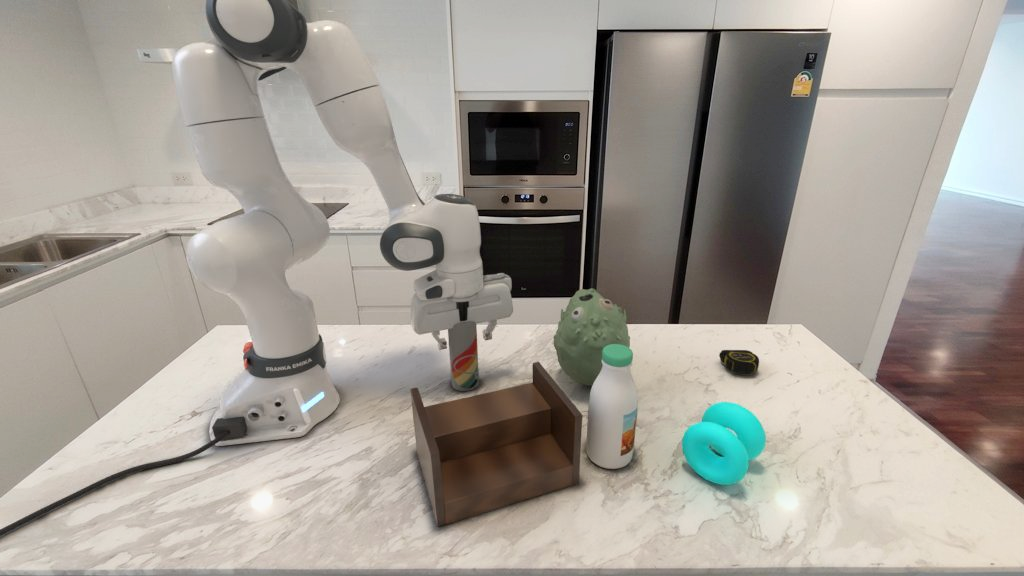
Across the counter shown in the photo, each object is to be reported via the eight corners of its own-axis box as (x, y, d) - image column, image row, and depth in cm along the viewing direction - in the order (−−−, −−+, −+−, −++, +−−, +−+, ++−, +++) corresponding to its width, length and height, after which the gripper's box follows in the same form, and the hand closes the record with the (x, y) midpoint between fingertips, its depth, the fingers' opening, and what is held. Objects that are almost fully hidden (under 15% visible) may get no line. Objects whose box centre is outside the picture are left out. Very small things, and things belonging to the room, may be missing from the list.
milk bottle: (604, 477, 76) (613, 368, 68) (576, 447, 82) (582, 345, 75) (642, 460, 79) (654, 355, 72) (612, 433, 86) (621, 334, 78)
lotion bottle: (474, 393, 97) (470, 303, 90) (448, 390, 98) (441, 301, 91) (481, 377, 102) (478, 291, 95) (456, 375, 104) (451, 289, 96)
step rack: (437, 527, 68) (430, 454, 63) (417, 453, 81) (409, 388, 76) (578, 483, 75) (582, 414, 70) (538, 422, 89) (538, 361, 84)
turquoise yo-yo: (762, 465, 78) (774, 415, 74) (737, 501, 71) (749, 447, 67) (702, 437, 84) (710, 389, 81) (675, 467, 78) (682, 416, 74)
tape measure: (749, 362, 107) (752, 347, 106) (762, 379, 101) (765, 363, 99) (717, 361, 108) (720, 346, 106) (729, 378, 101) (731, 363, 100)
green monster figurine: (618, 356, 110) (625, 275, 102) (636, 406, 93) (646, 313, 85) (550, 356, 110) (552, 275, 103) (555, 406, 93) (557, 313, 85)
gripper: (505, 266, 98) (508, 327, 103) (404, 282, 91) (412, 346, 96) (516, 276, 92) (518, 340, 97) (410, 294, 86) (418, 361, 91)
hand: (465, 343), depth 97 cm, fingers open, 8 cm apart
